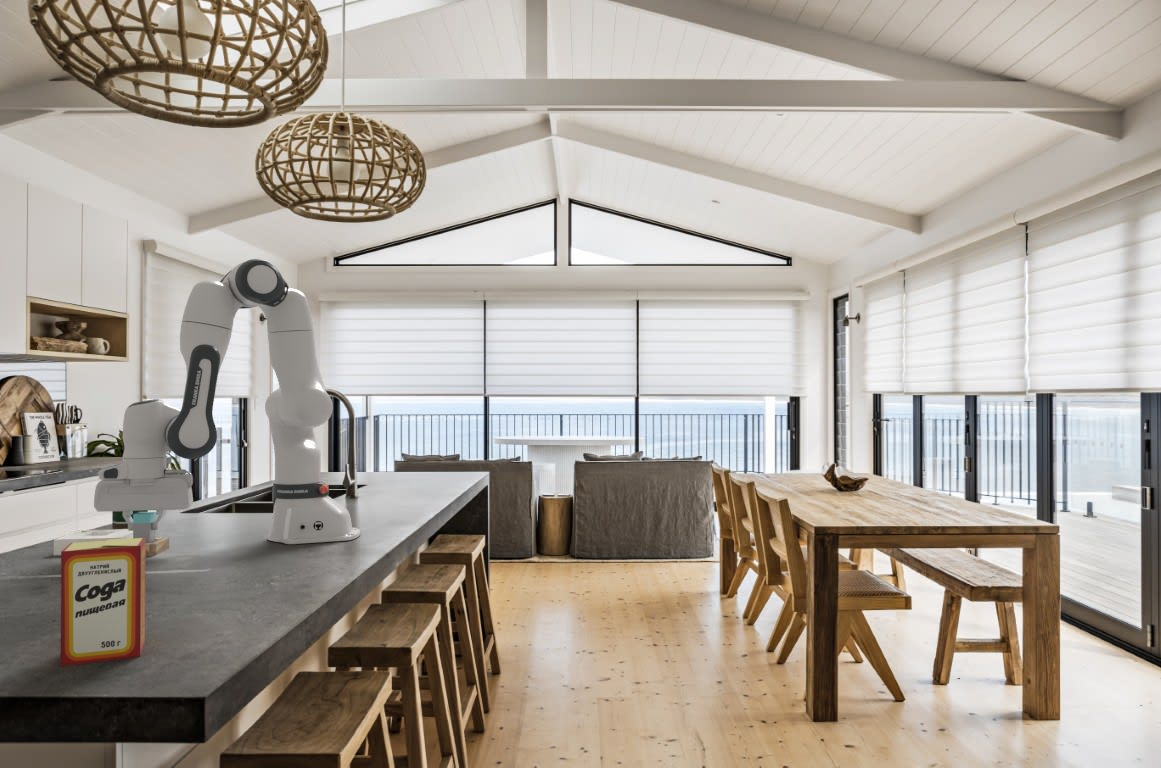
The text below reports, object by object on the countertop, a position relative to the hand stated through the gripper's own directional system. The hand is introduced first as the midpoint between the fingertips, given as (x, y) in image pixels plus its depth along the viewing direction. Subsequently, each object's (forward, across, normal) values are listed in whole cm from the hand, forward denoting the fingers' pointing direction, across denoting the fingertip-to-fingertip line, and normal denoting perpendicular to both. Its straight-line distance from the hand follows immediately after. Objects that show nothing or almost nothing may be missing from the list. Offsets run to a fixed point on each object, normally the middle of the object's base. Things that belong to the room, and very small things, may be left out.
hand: (144, 529), depth 177 cm
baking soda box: (+6, -21, +72) cm, 75 cm away
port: (+6, +12, -6) cm, 15 cm away
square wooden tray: (+6, 0, 0) cm, 6 cm away
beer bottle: (+6, +11, -21) cm, 24 cm away
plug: (+5, 0, 0) cm, 5 cm away
